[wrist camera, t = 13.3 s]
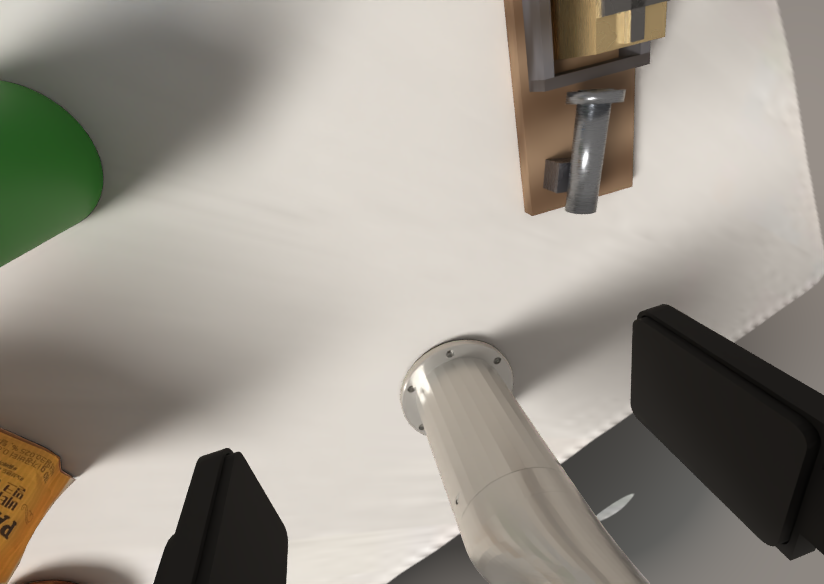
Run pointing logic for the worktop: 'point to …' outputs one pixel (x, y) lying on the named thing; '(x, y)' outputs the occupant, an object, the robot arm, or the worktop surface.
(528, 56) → the stand
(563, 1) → the coupling block
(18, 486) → the pancake mix bag
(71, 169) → the green bottle
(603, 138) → the shaft
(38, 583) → the pastry
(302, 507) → the worktop surface
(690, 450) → the robot arm
